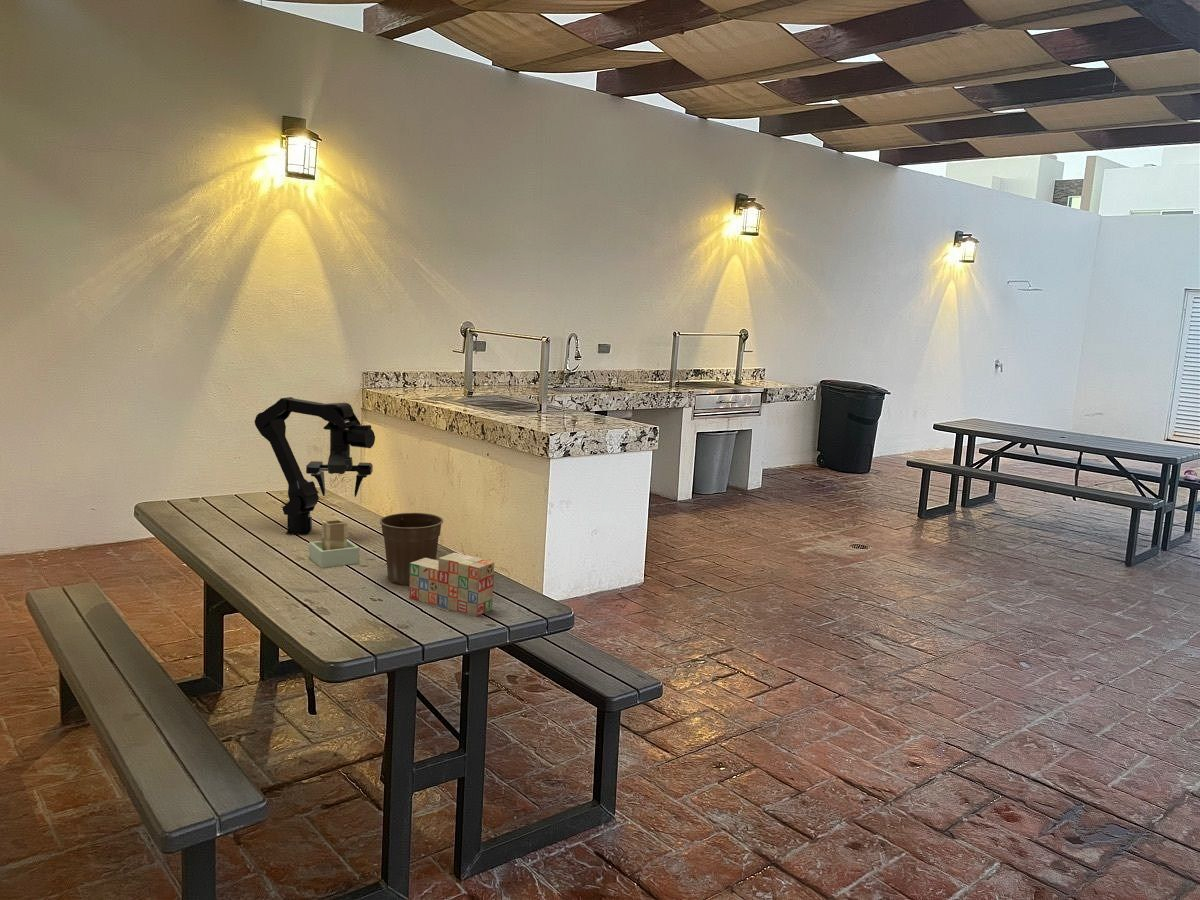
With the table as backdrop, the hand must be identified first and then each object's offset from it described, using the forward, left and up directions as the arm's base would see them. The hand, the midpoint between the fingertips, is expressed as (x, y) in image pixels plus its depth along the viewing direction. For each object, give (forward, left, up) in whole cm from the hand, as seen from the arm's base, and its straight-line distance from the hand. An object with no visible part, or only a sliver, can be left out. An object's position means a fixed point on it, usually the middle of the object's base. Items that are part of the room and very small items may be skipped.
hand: (339, 496), depth 276 cm
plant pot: (+24, -40, -13) cm, 48 cm away
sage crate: (+2, -24, -13) cm, 27 cm away
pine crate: (+2, -24, -12) cm, 27 cm away
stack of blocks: (+35, -60, -13) cm, 71 cm away
